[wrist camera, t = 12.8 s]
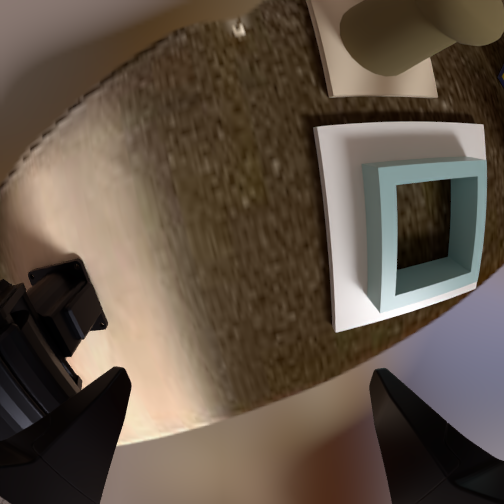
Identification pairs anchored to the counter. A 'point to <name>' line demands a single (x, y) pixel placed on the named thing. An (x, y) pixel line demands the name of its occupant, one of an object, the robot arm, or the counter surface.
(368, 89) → the pad
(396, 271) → the housing
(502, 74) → the supplement box
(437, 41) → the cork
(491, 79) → the counter surface
